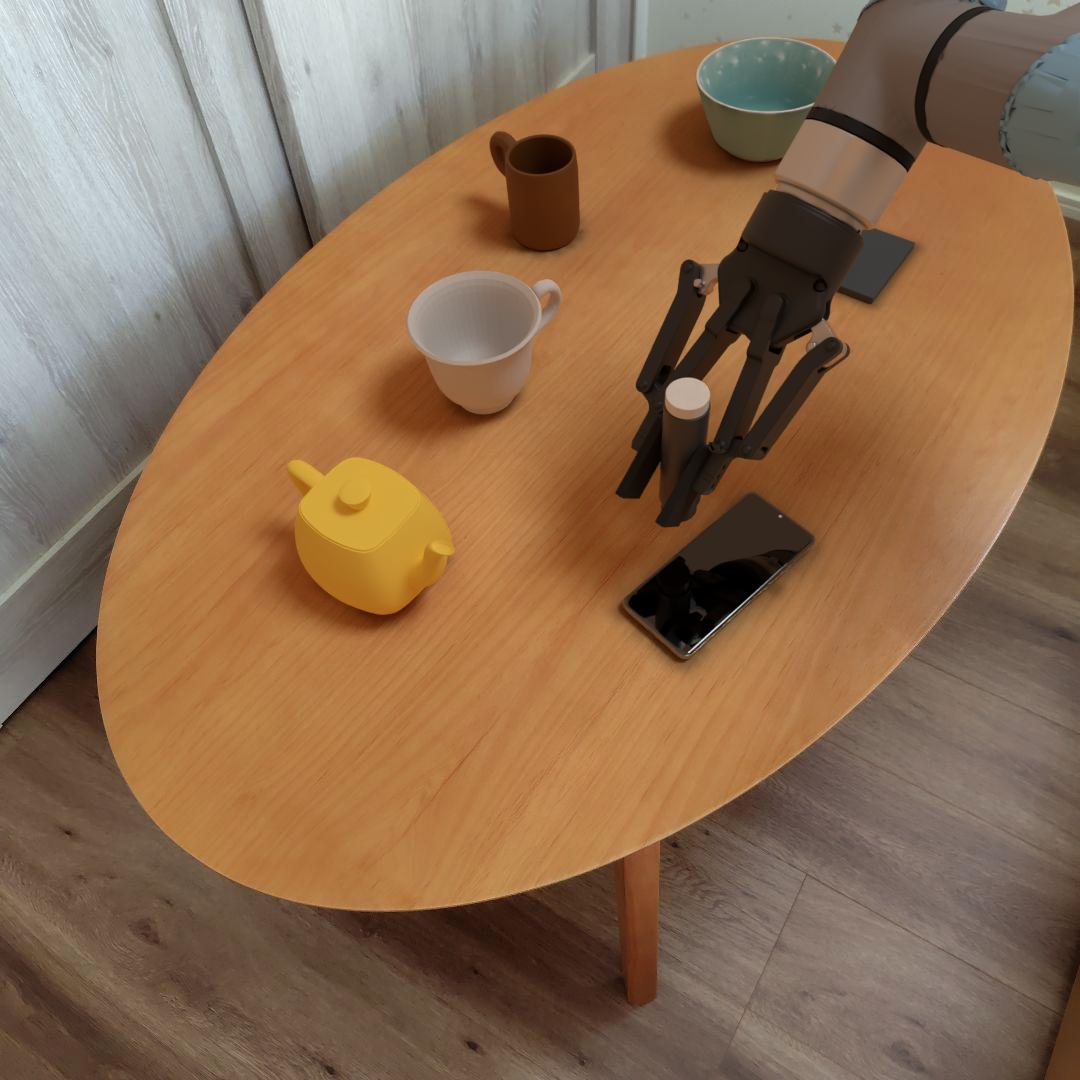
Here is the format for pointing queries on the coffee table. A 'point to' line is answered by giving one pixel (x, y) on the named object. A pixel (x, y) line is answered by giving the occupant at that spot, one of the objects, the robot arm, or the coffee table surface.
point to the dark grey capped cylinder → (682, 433)
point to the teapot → (368, 534)
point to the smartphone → (718, 574)
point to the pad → (875, 264)
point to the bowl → (761, 93)
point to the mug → (539, 188)
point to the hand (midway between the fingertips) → (647, 509)
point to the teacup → (480, 335)
